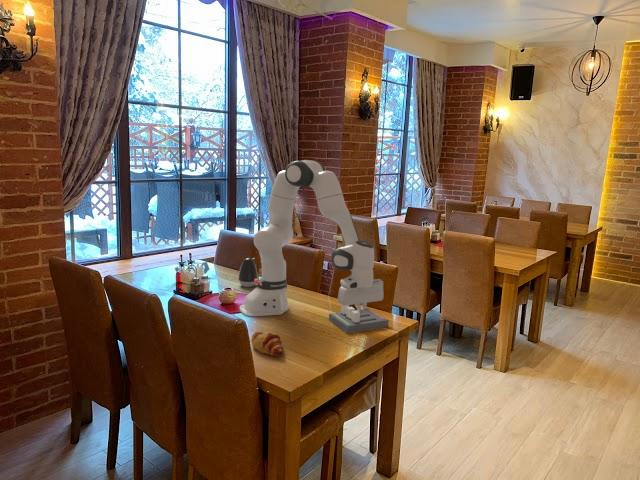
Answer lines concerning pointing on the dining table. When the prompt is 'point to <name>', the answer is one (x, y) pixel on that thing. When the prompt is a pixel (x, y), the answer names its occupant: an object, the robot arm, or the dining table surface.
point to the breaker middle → (349, 311)
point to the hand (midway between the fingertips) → (360, 312)
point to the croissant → (267, 343)
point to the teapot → (196, 263)
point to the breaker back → (344, 309)
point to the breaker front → (355, 316)
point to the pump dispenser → (248, 273)
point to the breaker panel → (366, 322)
